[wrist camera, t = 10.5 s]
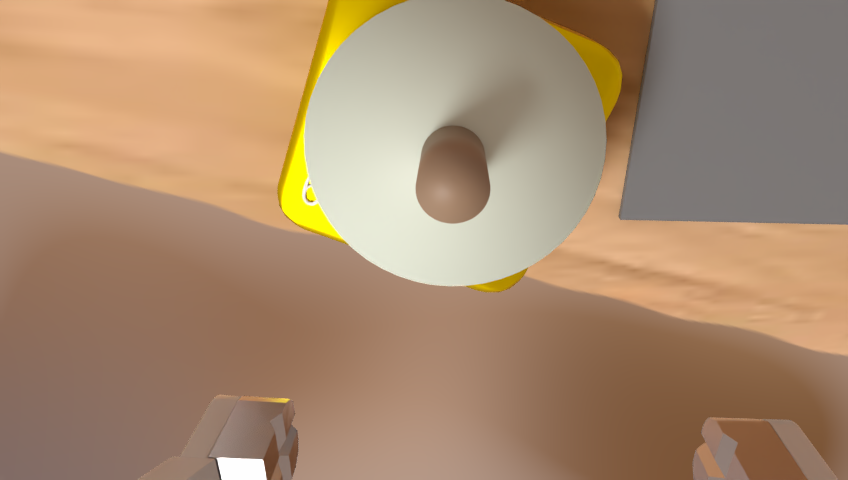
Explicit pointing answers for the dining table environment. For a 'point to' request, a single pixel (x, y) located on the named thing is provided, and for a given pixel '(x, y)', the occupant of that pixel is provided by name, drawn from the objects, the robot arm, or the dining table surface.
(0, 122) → the dining table surface
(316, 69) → the element tile
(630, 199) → the mat
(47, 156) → the dining table surface
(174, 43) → the dining table surface
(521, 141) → the lid
